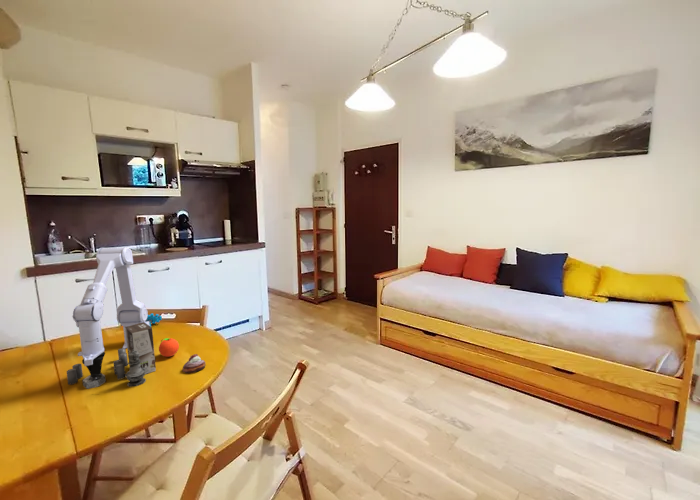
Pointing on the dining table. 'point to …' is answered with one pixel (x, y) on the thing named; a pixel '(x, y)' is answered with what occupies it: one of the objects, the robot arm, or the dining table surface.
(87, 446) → the dining table surface
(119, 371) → the spacers
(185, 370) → the pastry
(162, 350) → the clementine
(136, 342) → the coffee box
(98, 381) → the nut
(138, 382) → the grey tall stone piece
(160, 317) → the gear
